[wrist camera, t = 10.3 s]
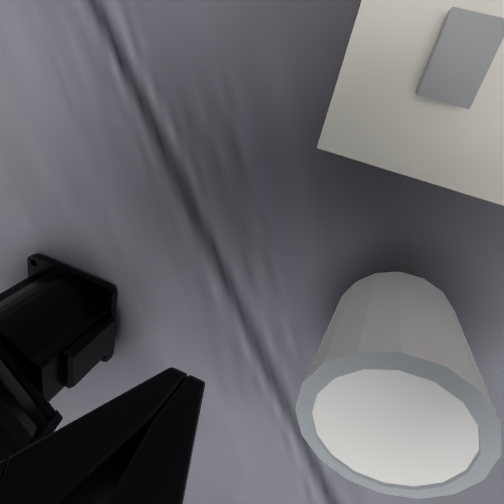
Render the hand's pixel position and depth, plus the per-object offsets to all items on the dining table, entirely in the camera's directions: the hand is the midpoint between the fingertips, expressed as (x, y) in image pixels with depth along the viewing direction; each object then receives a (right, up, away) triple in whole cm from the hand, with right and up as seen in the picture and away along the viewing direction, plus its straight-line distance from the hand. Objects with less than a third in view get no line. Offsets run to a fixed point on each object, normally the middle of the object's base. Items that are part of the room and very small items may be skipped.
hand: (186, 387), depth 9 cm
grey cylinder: (+9, 0, +11) cm, 14 cm away
